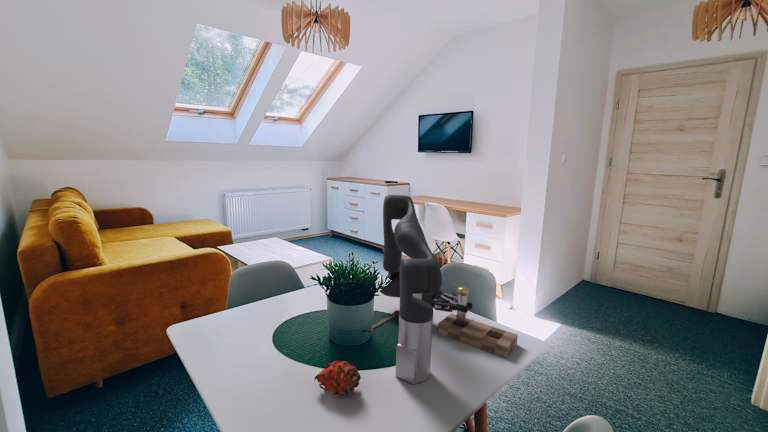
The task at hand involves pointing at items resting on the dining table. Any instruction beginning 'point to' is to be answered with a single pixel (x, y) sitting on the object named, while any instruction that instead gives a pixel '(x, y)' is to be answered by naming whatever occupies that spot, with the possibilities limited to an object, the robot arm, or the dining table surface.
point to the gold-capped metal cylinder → (463, 301)
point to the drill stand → (479, 335)
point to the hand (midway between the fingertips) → (469, 308)
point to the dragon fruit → (339, 377)
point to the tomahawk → (385, 320)
